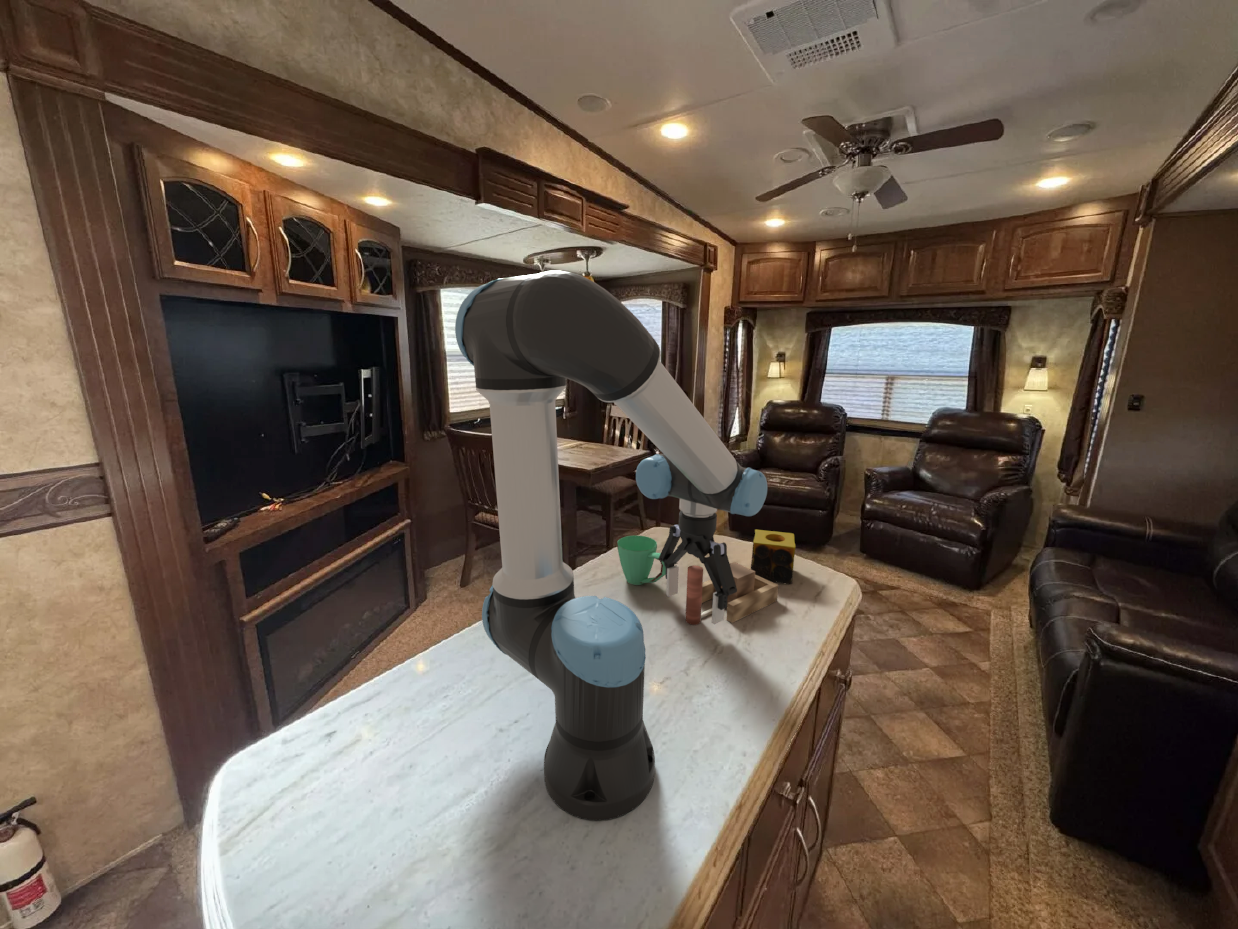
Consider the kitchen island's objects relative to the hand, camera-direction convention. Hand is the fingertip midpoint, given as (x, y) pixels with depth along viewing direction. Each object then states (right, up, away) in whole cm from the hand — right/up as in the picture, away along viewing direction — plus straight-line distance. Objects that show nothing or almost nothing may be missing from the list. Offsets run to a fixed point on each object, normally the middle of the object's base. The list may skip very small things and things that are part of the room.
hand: (693, 607), depth 102 cm
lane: (+10, -1, +8) cm, 13 cm away
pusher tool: (+6, -2, +5) cm, 8 cm away
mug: (-10, +1, +17) cm, 19 cm away
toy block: (+23, +2, +22) cm, 32 cm away
